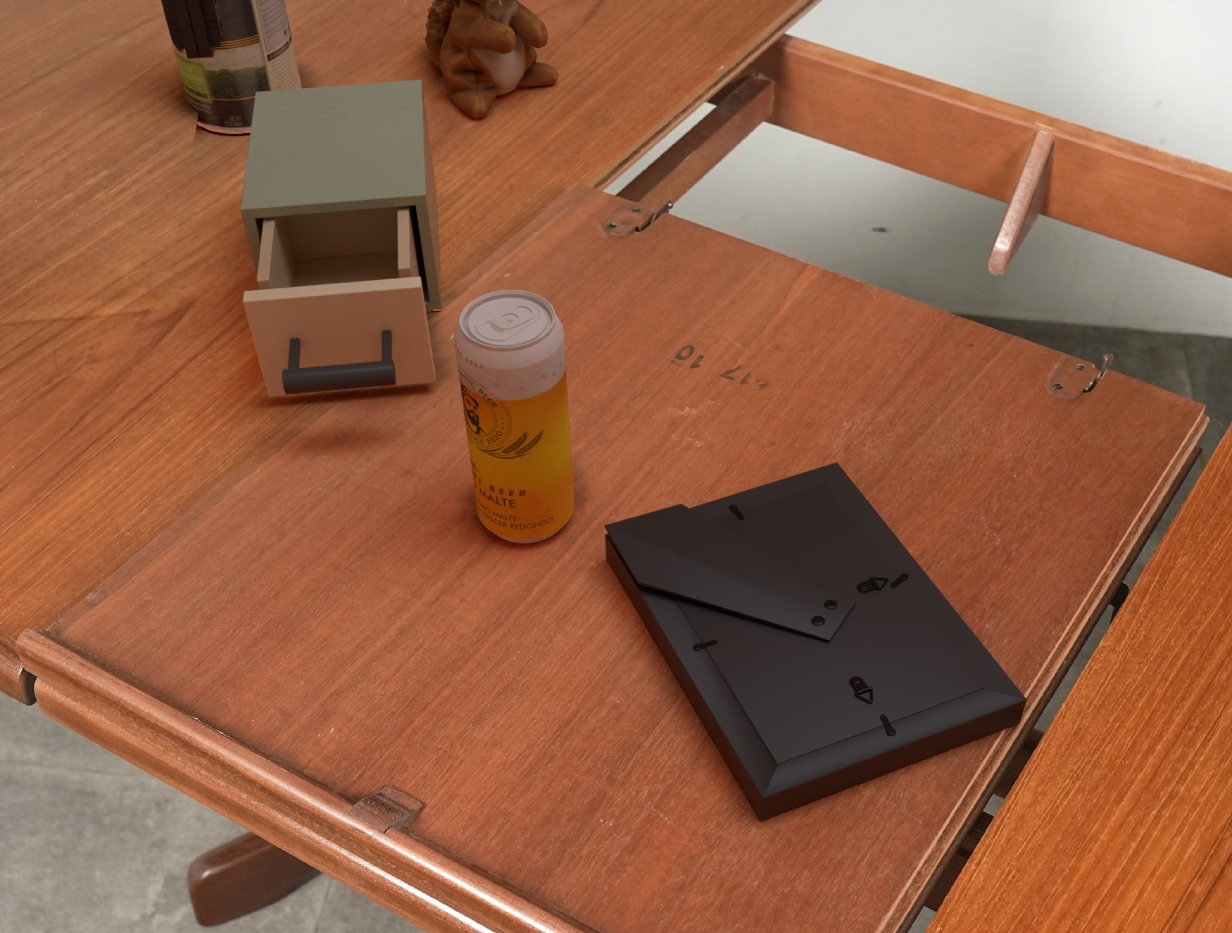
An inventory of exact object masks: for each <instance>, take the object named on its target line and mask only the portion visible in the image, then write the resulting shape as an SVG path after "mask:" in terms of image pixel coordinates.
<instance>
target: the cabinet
mask: <svg viewBox="0 0 1232 933" xmlns="http://www.w3.org/2000/svg"><path fill="white" fill-rule="evenodd" d="M426 109H427V108H426V103H425V94H424V89H423V80H422V79H410V80H397V81H383V82H370V83H357V84H344V85H343V84H342V85H341V84H340V85H331V86H330V85H329V86H315V87H302V89H289V90H275V91H262V92H256V94H255V102H254V109H253V117H252V125H251V132H250V134H249V140H248V141H249V142H248V147H247V148H248V149H247V155H246V165H245V171H244V172H245V173H244V180H243V186H242V193H241V203H240V208H239V210H240V214H241V217H242V218H241V219H242V222H243V226H244V229H245V234H246V237H247V241H248V246H249V249H250V253H251V257H252V262H253V265H254V269H255V272H256V275H257V274H258V265H259V256H260V246H261V237H262V228H263V219H264V218H265V217H277V216H289V215H302V214H314V213H326V212H339V211H351V210H363V209H376V208H388V207H400V206H413V205H414V210H415V216H416V223H417V230H418V236H419V243H420V250H421V271H422V288H423V295H424V301H425V308H426V313H431V312H430V311H433V310H434V309H442V310H443V299H442V298H443V297H442V280H441V279H442V278H441V257H440V256H441V255H440V236H439V217H438V216H439V215H438V194H437V184H436V176H435V170H434V162H433V156H432V155H433V154H432V146H431V139H430V132H429V125H428V124H429V123H428V117H427V110H426Z"/></svg>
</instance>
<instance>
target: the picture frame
mask: <svg viewBox="0 0 1232 933" xmlns="http://www.w3.org/2000/svg"><path fill="white" fill-rule="evenodd" d="M604 529H605V531H606V533H605V534H604V546H605V559H606V561H607V563H608V564H609V566H610V568H611V569H612V571H613V573H614V575H615V576H616V578H617V580H618V581H619V583H620V585H621V586H622V588H623V590H624V592H625V593H626V595H627V596H628V599H629V600H630V602H631V603H632V605H633V607H634V608H635V610H636V612H637V614H638V615H639V617H640V620H642V622H643V624H644V626H645V627H646V629H647V630H648V632H649V634H650V636H651V637H652V640H653V641H654V642H655V645H656V646H657V648H658V650H659V651H660V653H661V655H662V656H663V658H664V659H665V661H666V663H667V665H668V667H669V668H670V670H671V671H672V673H673V675H674V677H675V679H676V680H677V682H678V684H679V685H680V687H681V689H682V691H683V692H684V693H685V695H686V697H687V699H688V701H689V702H690V704H691V706H692V708H693V709H694V711H695V713H696V714H697V716H698V718H699V719H700V721H701V723H702V724H703V727H704V729H705V730H706V731H707V733H708V735H709V736H710V738H711V740H712V741H713V743H714V745H715V746H716V748H717V750H718V752H719V753H720V755H721V757H722V759H723V760H724V762H725V763H726V765H727V767H728V769H729V770H730V772H731V774H732V776H733V777H734V779H735V781H736V782H737V784H738V786H739V787H740V790H741V791H742V793H743V795H744V796H745V798H746V800H747V802H748V803H749V804H750V806H751V808H752V809H753V811H754V813H755V815H756V817H757V819H758V820H759V821H760V822H763V821H765V820H767V819H770V818H773V817H775V816H777V815H780V814H783V813H785V812H788V811H791V810H794V809H797V808H799V807H802V806H804V805H808V804H809V803H812V802H815V801H818V800H820V799H823V798H826V797H829V796H831V795H833V794H836V793H839V792H841V791H844V790H847V789H850V788H852V787H854V786H858V785H860V784H862V783H865V782H868V781H870V780H874V779H876V778H878V777H881V776H883V775H886V774H889V773H891V772H895V771H897V770H899V769H903V768H905V767H907V766H910V765H912V764H916V763H918V762H921V761H923V760H927V759H929V758H931V757H934V756H937V755H939V754H942V753H944V752H948V751H949V750H953V749H955V748H958V747H960V746H962V745H965V744H968V743H971V742H974V741H976V740H978V739H982V738H984V737H987V736H990V735H992V734H996V733H997V732H1000V731H1003V730H1006V729H1008V728H1011V727H1013V726H1016V725H1018V724H1020V723H1021V720H1022V717H1023V714H1024V711H1025V707H1026V704H1027V701H1028V698H1026V696H1025V695H1024V694H1023V693H1022V691H1021V690H1020V688H1018V687H1017V684H1015V683H1014V681H1013V680H1012V679H1011V678H1010V676H1009V675H1008V674H1007V673H1006V671H1005V670H1004V669H1003V668H1002V667H1001V665H1000V663H998V661H997V660H996V659H995V657H993V655H992V654H991V652H990V651H989V650H988V648H986V646H985V645H984V643H983V642H982V641H981V640H980V639H979V638H978V636H976V634H975V632H973V630H972V629H971V627H970V626H969V625H968V624H967V623H966V621H965V620H964V618H962V616H961V615H960V614H959V613H958V611H957V610H956V609H955V608H954V607H953V605H952V604H951V603H950V601H949V600H948V599H947V598H946V596H945V595H944V594H943V593H942V592H941V590H940V589H939V588H938V587H937V585H936V584H935V583H934V581H933V580H932V579H931V578H930V576H929V575H928V574H927V573H926V571H925V570H924V569H923V568H922V567H921V565H920V564H919V563H918V562H917V560H916V559H915V558H914V556H912V553H910V552H909V550H908V549H907V548H906V547H905V545H904V544H903V543H902V541H901V540H900V538H898V536H896V534H895V533H894V531H893V530H892V529H891V528H890V526H889V525H888V524H887V522H886V521H885V520H884V519H883V518H882V516H881V515H880V513H878V512H877V510H876V509H875V508H874V507H873V505H872V504H871V503H870V502H869V500H868V499H867V498H866V496H865V495H864V494H863V493H862V491H861V490H860V489H859V488H858V486H857V485H856V484H855V482H854V481H853V480H852V479H851V478H850V476H849V475H848V474H847V473H846V471H844V469H843V468H842V467H841V465H840V464H839V463H838V462H837V461H836V462H832V463H829V464H827V465H823V466H819V467H816V468H813V469H810V470H807V471H804V472H801V473H797V474H794V475H791V476H788V477H785V478H781V479H778V480H775V481H772V482H768V483H764V484H762V485H759V486H755V487H752V488H749V489H746V490H742V491H740V492H736V493H733V494H730V495H727V496H724V497H720V498H717V499H714V500H711V501H707V502H704V503H701V504H698V505H695V506H691V507H688V506H687V505H684V504H682V503H679V504H675V505H671V506H667V507H663V508H660V509H657V510H654V511H651V512H647V513H643V514H640V515H636V516H633V517H628V518H626V519H625V518H624V519H622V520H619V521H615V522H610V523H608V524H605V525H604Z"/></svg>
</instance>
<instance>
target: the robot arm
mask: <svg viewBox="0 0 1232 933" xmlns="http://www.w3.org/2000/svg"><path fill="white" fill-rule="evenodd" d="M161 1H162V4H161V6H162V5H163V7H162V9H163V8H164V11H163V13H164V12H165V15H164V17H165V16H166V18H165V21H166V20H167V22H166V24H167V23H168V25H167V29H168V28H169V29H168V32H169V31H170V33H169V36H171V37H170V40H172V41H171V43H172V42H173V43H174V45H175V46H176V48H177V49H185V51H186V55H187V58H188V59H196V58H211V57H214V52H215V47H220V44H221V39H222V33H223V22H222V18H221V13H220V9H219V5H218V0H160V2H161Z"/></svg>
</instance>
